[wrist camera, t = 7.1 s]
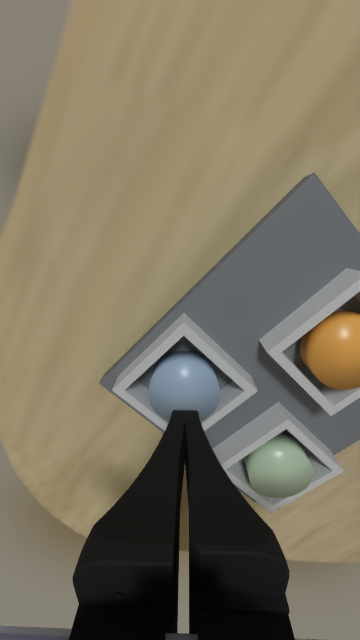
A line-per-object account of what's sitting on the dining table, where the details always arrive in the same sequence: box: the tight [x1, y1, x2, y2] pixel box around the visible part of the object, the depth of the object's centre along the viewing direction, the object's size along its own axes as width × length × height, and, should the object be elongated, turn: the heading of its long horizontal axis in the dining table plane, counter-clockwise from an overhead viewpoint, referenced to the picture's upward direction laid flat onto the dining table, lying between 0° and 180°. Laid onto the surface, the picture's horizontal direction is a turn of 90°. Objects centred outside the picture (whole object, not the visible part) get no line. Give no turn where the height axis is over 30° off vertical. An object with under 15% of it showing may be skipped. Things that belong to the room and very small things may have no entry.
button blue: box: [148, 351, 220, 421], centre depth 16 cm, size 5×5×2 cm
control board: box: [99, 173, 360, 513], centre depth 17 cm, size 18×19×3 cm
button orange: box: [300, 310, 360, 390], centre depth 15 cm, size 5×5×2 cm
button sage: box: [244, 434, 314, 498], centre depth 18 cm, size 5×5×2 cm
